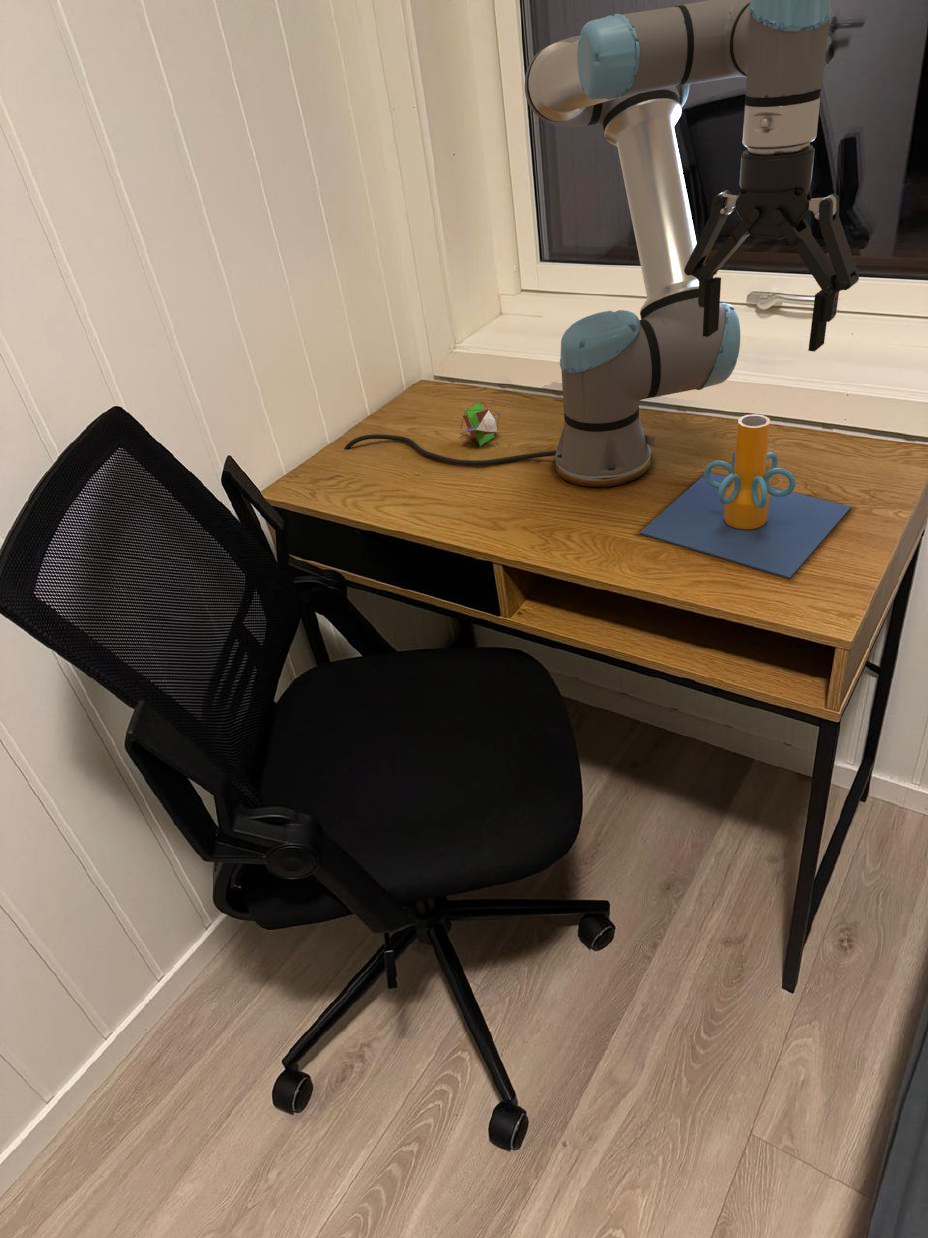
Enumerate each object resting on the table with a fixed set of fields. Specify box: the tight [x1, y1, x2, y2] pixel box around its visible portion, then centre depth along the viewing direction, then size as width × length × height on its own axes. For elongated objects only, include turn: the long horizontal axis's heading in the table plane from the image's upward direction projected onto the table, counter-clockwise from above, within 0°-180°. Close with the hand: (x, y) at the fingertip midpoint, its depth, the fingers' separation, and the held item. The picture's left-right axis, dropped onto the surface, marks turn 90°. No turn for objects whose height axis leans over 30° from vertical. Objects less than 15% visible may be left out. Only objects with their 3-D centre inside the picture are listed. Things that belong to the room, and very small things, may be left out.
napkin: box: [639, 472, 852, 580], centre depth 121 cm, size 22×20×1 cm
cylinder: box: [703, 413, 797, 530], centre depth 116 cm, size 12×10×15 cm
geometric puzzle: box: [459, 400, 501, 447], centre depth 150 cm, size 7×7×8 cm
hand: (761, 340), depth 105 cm, fingers open, 13 cm apart
